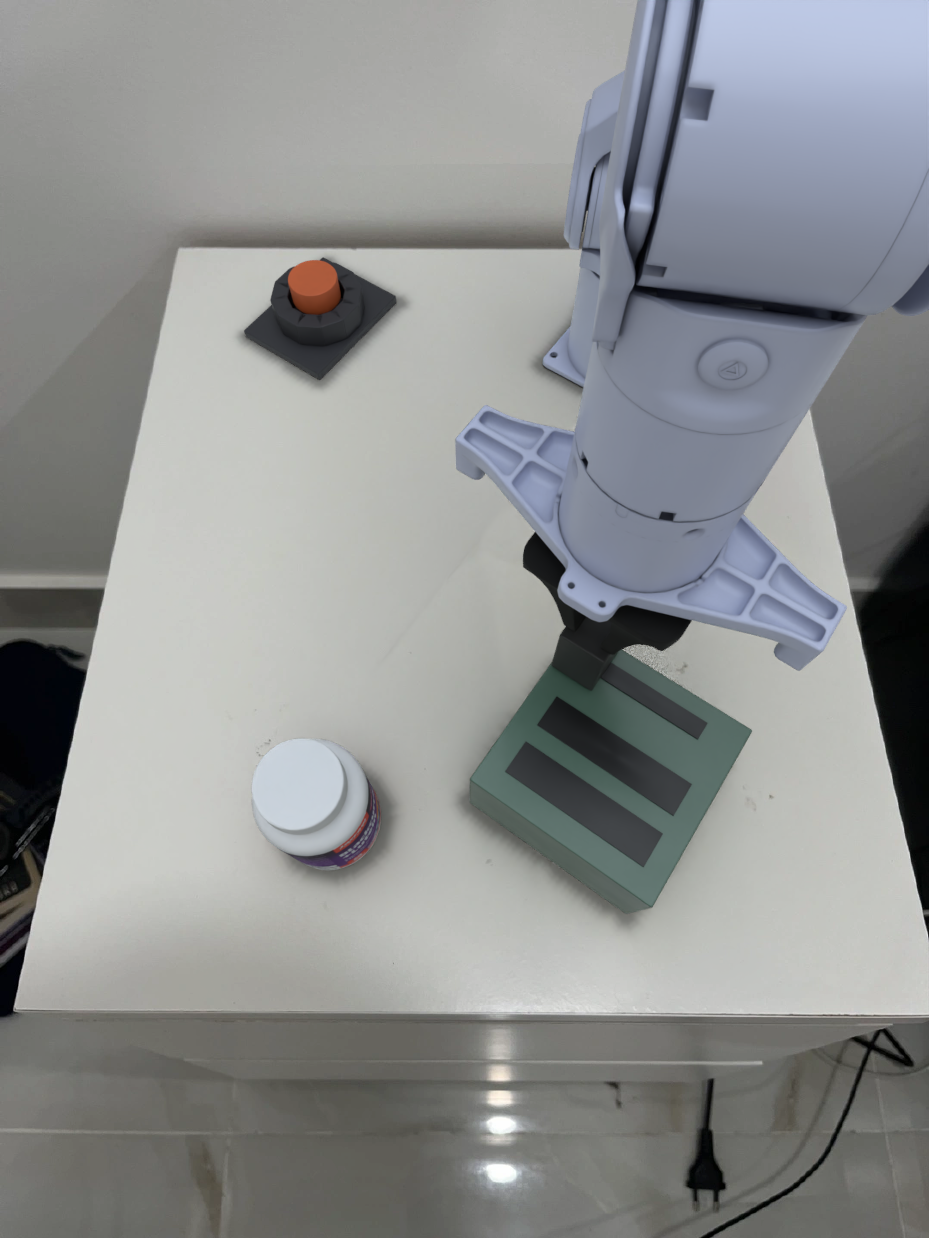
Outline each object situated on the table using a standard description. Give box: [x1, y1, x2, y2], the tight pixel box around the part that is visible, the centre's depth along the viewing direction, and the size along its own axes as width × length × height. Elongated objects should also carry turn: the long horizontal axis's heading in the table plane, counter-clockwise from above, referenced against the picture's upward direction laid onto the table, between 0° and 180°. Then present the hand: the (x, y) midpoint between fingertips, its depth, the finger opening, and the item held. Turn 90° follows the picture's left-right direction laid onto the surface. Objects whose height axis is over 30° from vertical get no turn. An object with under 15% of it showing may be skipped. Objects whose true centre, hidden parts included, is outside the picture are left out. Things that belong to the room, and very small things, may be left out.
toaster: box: [469, 649, 753, 915], centre depth 39 cm, size 10×10×6 cm
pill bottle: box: [251, 737, 382, 871], centre depth 37 cm, size 5×5×10 cm
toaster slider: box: [550, 617, 617, 691], centre depth 37 cm, size 3×2×4 cm
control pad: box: [243, 257, 397, 381], centre depth 55 cm, size 9×7×2 cm
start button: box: [288, 259, 341, 315], centre depth 53 cm, size 3×3×2 cm
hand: (599, 623), depth 35 cm, fingers closed
